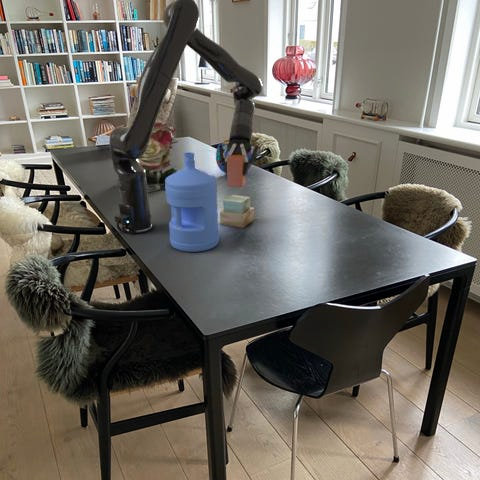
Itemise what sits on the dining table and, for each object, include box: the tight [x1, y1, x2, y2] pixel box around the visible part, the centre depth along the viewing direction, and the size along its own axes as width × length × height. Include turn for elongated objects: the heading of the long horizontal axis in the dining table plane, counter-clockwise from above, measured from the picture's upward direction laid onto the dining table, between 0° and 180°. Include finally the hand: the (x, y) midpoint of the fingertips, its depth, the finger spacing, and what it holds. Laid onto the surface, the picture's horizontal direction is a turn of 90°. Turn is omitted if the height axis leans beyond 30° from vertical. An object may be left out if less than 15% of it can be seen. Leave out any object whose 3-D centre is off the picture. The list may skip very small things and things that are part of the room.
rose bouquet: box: [137, 115, 179, 193], centre depth 209 cm, size 26×29×30 cm
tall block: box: [226, 155, 246, 188], centre depth 164 cm, size 5×5×10 cm
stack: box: [219, 194, 255, 229], centre depth 171 cm, size 9×9×8 cm
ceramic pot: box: [215, 139, 252, 174], centre depth 228 cm, size 18×18×15 cm
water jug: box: [164, 151, 220, 253], centre depth 149 cm, size 16×16×28 cm
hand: (235, 173), depth 163 cm, fingers closed on tall block, 5 cm apart
